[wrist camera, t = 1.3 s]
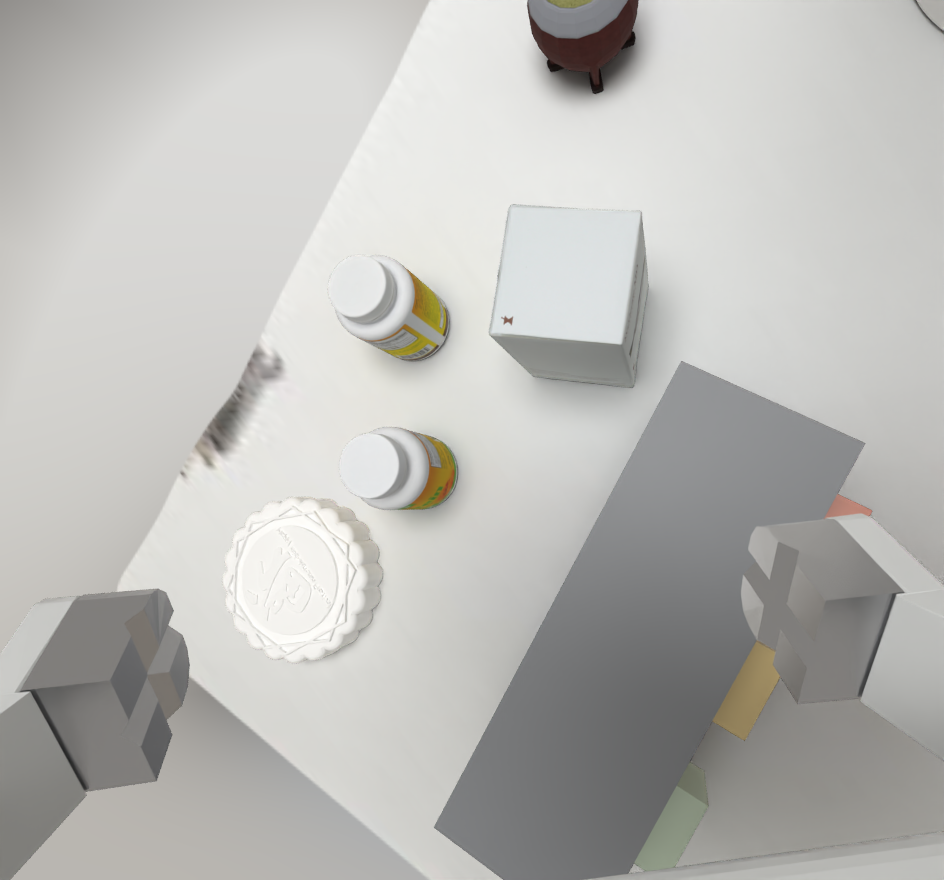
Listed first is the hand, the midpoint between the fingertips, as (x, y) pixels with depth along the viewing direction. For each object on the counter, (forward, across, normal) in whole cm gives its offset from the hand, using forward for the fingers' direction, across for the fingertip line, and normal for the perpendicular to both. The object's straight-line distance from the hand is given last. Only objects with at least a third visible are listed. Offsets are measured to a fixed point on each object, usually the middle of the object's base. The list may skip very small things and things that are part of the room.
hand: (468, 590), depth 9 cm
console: (+25, -13, +25) cm, 38 cm away
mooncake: (+34, +10, +28) cm, 45 cm away
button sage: (+15, -10, +29) cm, 34 cm away
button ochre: (+17, -14, +23) cm, 32 cm away
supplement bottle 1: (+42, +1, +11) cm, 43 cm away
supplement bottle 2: (+35, +1, +20) cm, 41 cm away
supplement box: (+37, -11, +11) cm, 40 cm away
